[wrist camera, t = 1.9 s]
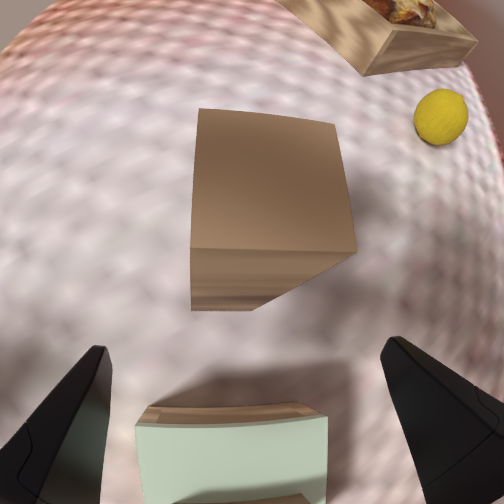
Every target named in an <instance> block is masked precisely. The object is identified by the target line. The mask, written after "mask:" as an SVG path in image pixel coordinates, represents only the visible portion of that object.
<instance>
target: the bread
mask: <svg viewBox="0 0 504 504" xmlns="http://www.w3.org/2000/svg"><path fill="white" fill-rule="evenodd" d="M362 1H363V2H365V3H366V4H367V5H369V6H370V7H371V8H373V9H374V10H375V11H376V12H378V13H379V14H380V15H381V16H383V17H384V18H385V19H386V20H387V21H389V22H390V23H391V24H401V25H410V26H417V27H425V28H431V29H434V27H435V25H436V14H435V10H434V3H433V1H432V0H362Z"/></svg>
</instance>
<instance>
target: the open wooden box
mask: <svg viewBox="0 0 504 504" xmlns="http://www.w3.org/2000/svg"><path fill="white" fill-rule="evenodd" d="M317 414H321V413H319V412H317V411H315V410H313V409H311V408H309V407H307V406H305V405H303V404H301V403H299V402H289V403H279V404H268V405H255V406H238V407H206V408H183V407H152V406H148V407H147V408H146V410H145V411H144V413H143V414H142V416H141V417H140V419H139V420H138V421H137V422H142V423H160V424H226V423H245V422H259V421H270V420H280V419H288V418H296V417H304V416H311V415H317Z"/></svg>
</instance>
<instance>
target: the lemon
mask: <svg viewBox="0 0 504 504" xmlns="http://www.w3.org/2000/svg"><path fill="white" fill-rule="evenodd" d="M467 122H468V109H467V106H466V104H465V102H464V97H463V96H462V95H461V94H457V93H456V92H454V91H452V90H449V89H437V90H434V91H432V92H430V93H429V94H427V95H426V96H425V97H424V98H423V99H422V100H421V101H420V102H419V104H418V105H417V108H416V110H415V113H414V123H415V127H416V129H417V131H418V133H419V137H420V138H421V139H424V140H426V141H427V142H429V143H431V144H435V145H445V144H448V143H450V142H452V141H454V140H455V139H456V138H458V137H459V136H460V135H461V133H462V132H463V131H464V129H465V127H466V125H467Z"/></svg>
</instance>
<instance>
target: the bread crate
mask: <svg viewBox="0 0 504 504" xmlns="http://www.w3.org/2000/svg"><path fill="white" fill-rule="evenodd" d="M276 1H277V2H279V3H280V4H281V5H283V6H284V7H285V8H287V9H288V10H289V11H290V12H292V13H293V14H294V15H296V16H297V17H298V18H299V19H301V20H302V21H303V22H304V23H305V24H307V25H308V26H309V27H310V28H311V29H313V30H314V31H315V32H316V33H317V34H318V35H320V36H321V37H322V38H323V39H324V40H325V41H326V42H327V43H329V44H330V45H331V46H332V47H333V48H334V49H335V50H336V51H337V52H338V53H339V54H340V55H341V56H342V57H344V58H345V59H346V60H347V61H348V62H349V63H350V64H351V65H352V66H353V67H354V68H355V69H356V70H357V71H358V72H359V73H360V74H361V75H362V76H369V75H375V74H382V73H390V72H398V71H407V70H417V69H429V68H445V67H457V66H458V65H459V64H460V63H461V62H462V61H463V60H464V59H465V57H466V56H467V55H468V54H469V53H470V52H471V51H472V50H473V48H474V47H475V46H476V45H477V44H478V43H479V42H478V40H477V39H475V37H474V36H473V35H472V34H471V33H470V32H469V31H468V30H467V29H465V28H464V27H463V26H462V25H461V24H460V23H459V22H458V21H457V20H456V19H455V18H454V17H452V16H451V15H450V14H449V13H448V12H447V11H446V10H444V9H443V8H442V7H441V6H440V5H439V4H437V3H436V2H435V1H434V0H432V1H433V3H434V10H435V14H436V25H435V27H434V29H431V28H425V27H417V26H410V25H401V24H391V23H390V22H389V21H387V20H386V19H385V18H384V17H383V16H381V15H380V14H379V13H378V12H376V11H375V10H374V9H373V8H371V7H370V6H369V5H367V4H366V3H365V2H363V1H362V0H276Z"/></svg>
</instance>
